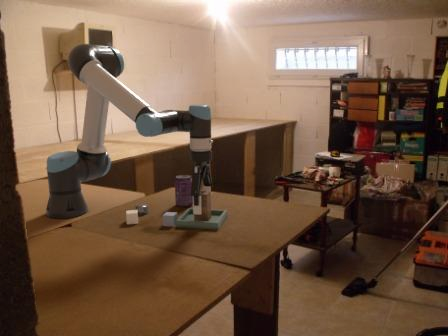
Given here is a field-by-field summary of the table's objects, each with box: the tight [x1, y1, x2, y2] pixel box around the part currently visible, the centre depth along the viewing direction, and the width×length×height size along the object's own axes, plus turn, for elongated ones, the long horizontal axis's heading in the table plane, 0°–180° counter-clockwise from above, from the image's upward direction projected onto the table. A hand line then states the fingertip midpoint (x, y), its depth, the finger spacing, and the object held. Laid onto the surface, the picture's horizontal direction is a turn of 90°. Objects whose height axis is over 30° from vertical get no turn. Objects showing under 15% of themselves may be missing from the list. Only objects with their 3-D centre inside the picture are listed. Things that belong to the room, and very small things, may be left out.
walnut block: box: [194, 190, 212, 221], centre depth 155 cm, size 5×5×10 cm
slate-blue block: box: [162, 211, 179, 227], centre depth 153 cm, size 4×4×4 cm
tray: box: [175, 207, 228, 231], centre depth 156 cm, size 15×15×2 cm
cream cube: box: [125, 209, 139, 225], centre depth 157 cm, size 4×4×4 cm
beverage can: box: [174, 174, 193, 208], centre depth 176 cm, size 7×7×12 cm
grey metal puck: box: [134, 203, 150, 216], centre depth 167 cm, size 5×5×3 cm
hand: (202, 208), depth 155 cm, fingers open, 12 cm apart
